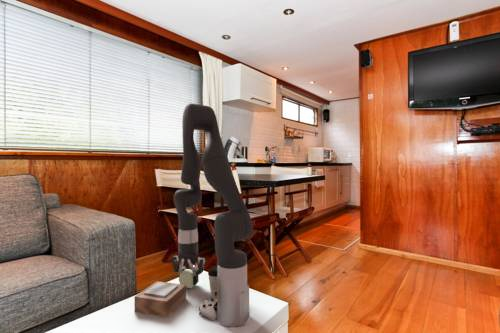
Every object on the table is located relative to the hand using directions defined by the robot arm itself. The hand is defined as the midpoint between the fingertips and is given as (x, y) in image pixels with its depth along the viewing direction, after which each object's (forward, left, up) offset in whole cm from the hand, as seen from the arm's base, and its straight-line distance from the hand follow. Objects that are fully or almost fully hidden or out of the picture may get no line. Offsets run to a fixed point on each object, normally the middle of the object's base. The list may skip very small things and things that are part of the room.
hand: (188, 283), depth 107 cm
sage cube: (0, 0, 0) cm, 0 cm away
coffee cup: (-14, +4, -2) cm, 14 cm away
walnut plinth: (+2, +15, -1) cm, 15 cm away
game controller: (-16, +14, -2) cm, 21 cm away
